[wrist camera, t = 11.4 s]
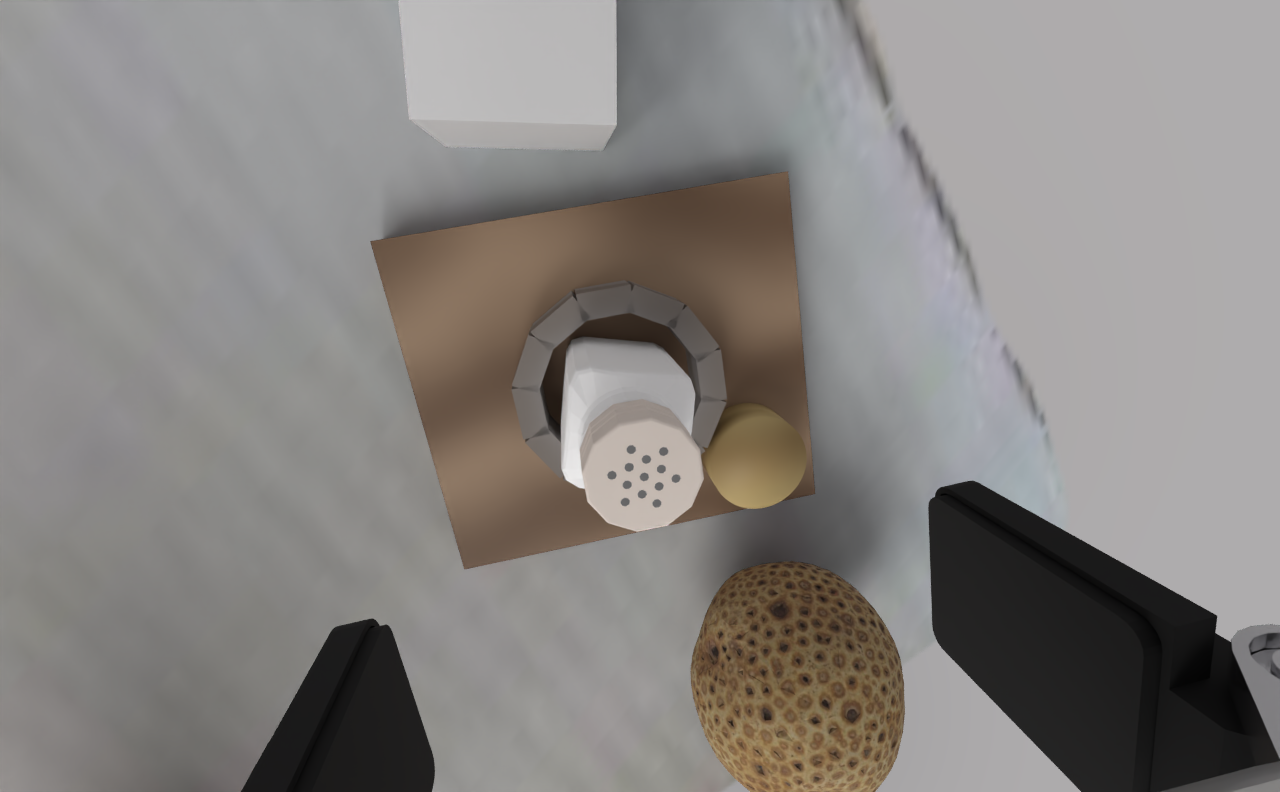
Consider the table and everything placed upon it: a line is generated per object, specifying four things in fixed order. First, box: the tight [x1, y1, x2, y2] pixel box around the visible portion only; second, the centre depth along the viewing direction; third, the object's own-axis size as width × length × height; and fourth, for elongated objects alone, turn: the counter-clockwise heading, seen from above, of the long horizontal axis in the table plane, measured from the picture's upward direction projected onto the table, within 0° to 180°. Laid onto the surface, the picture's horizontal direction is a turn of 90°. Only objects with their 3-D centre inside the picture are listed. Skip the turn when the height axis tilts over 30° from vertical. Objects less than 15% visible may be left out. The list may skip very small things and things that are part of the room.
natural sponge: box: [691, 561, 905, 792], centre depth 25 cm, size 9×9×10 cm
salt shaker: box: [561, 337, 704, 532], centre depth 20 cm, size 4×4×10 cm
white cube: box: [398, 0, 617, 151], centre depth 19 cm, size 6×6×6 cm
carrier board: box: [370, 171, 815, 569], centre depth 24 cm, size 14×16×4 cm
